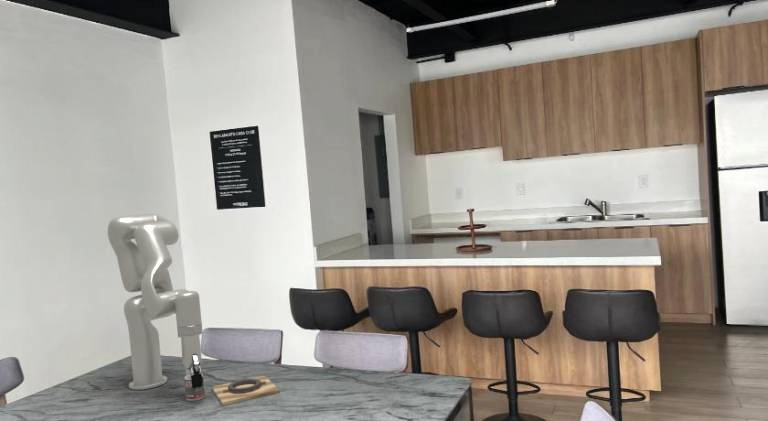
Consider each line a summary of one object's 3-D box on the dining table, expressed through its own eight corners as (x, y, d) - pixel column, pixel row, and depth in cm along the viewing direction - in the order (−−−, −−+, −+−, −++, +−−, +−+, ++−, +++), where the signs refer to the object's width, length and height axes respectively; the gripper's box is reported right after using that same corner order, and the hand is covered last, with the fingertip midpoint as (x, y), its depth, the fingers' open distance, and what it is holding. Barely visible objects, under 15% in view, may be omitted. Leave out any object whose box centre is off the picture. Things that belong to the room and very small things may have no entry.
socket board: (211, 389, 192) (211, 382, 191) (264, 378, 200) (264, 371, 200) (222, 405, 175) (221, 397, 175) (279, 392, 183) (279, 385, 183)
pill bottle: (198, 401, 181) (196, 370, 181) (182, 401, 182) (179, 370, 182) (208, 395, 187) (205, 364, 186) (192, 395, 188) (189, 365, 187)
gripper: (174, 328, 190) (179, 379, 190) (181, 337, 174) (186, 393, 175) (197, 324, 193) (202, 374, 193) (206, 332, 178) (211, 387, 178)
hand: (195, 383), depth 184 cm, fingers open, 9 cm apart
